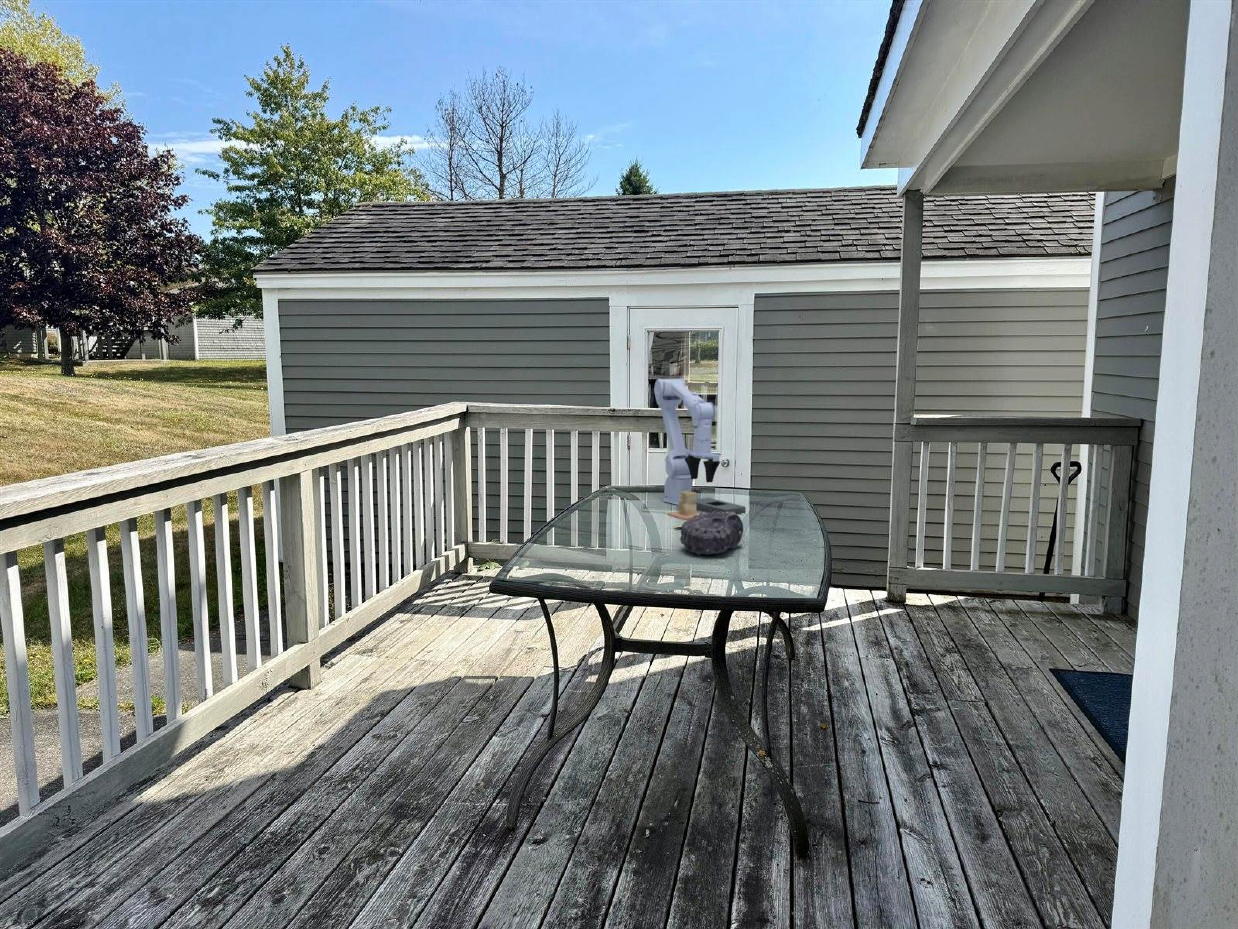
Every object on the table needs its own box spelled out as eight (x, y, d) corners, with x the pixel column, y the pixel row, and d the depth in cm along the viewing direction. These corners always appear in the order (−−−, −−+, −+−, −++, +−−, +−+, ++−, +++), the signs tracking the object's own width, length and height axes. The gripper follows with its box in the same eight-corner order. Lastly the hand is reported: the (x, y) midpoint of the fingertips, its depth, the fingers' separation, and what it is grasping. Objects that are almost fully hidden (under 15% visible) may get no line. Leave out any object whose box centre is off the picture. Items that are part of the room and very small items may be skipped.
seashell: (745, 550, 240) (707, 517, 246) (760, 519, 231) (720, 486, 237) (701, 581, 227) (662, 545, 234) (715, 550, 219) (674, 514, 225)
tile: (667, 515, 276) (667, 513, 276) (688, 511, 281) (688, 509, 281) (685, 520, 269) (685, 518, 269) (706, 516, 274) (706, 514, 274)
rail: (688, 507, 288) (688, 500, 288) (708, 504, 294) (708, 497, 293) (725, 516, 274) (725, 510, 274) (745, 513, 279) (745, 506, 279)
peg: (678, 513, 275) (679, 492, 274) (688, 512, 278) (688, 490, 277) (686, 515, 272) (687, 494, 271) (696, 514, 275) (696, 492, 273)
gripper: (678, 438, 282) (678, 478, 284) (708, 442, 270) (707, 484, 272) (695, 436, 286) (694, 476, 288) (724, 441, 274) (723, 482, 276)
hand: (701, 480), depth 280 cm, fingers open, 7 cm apart
